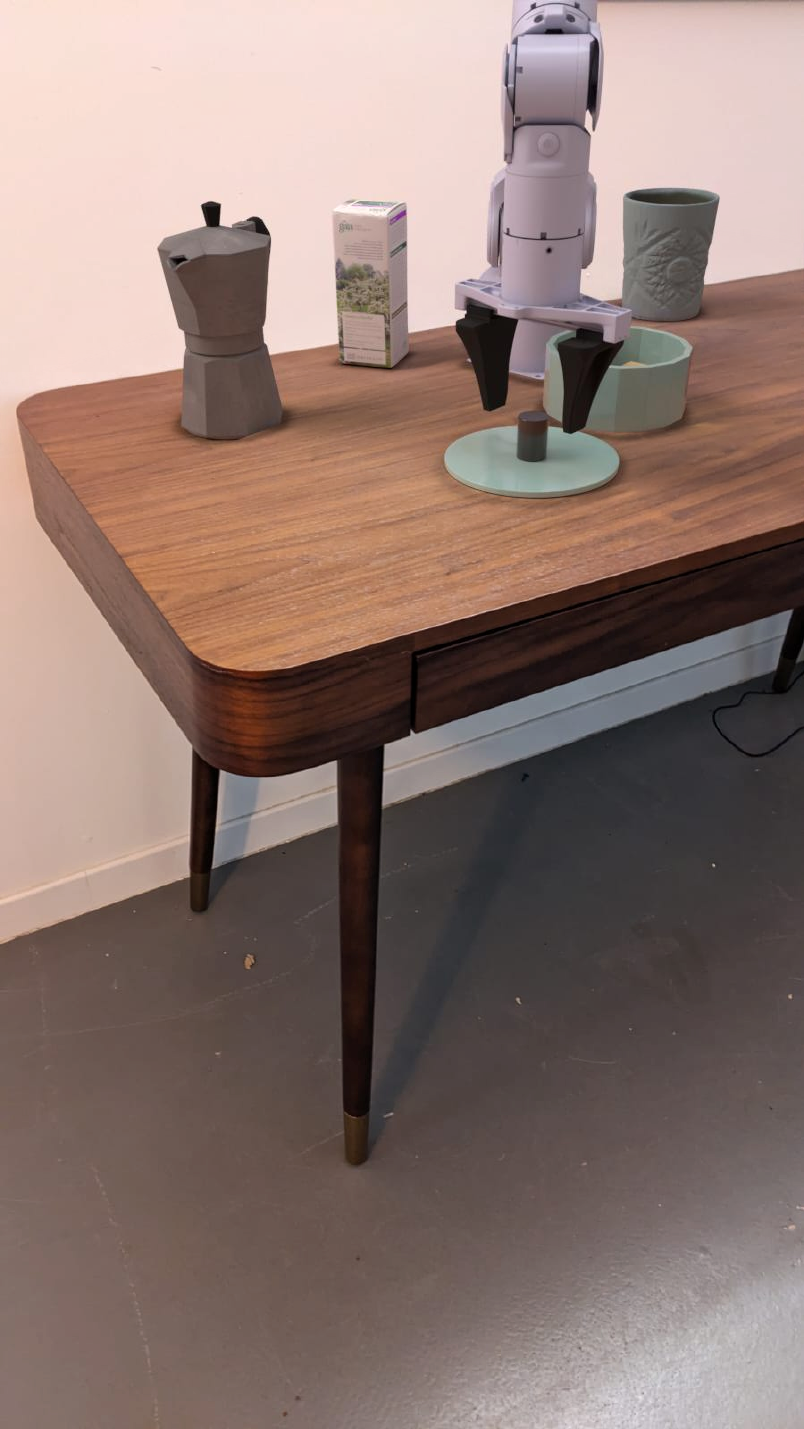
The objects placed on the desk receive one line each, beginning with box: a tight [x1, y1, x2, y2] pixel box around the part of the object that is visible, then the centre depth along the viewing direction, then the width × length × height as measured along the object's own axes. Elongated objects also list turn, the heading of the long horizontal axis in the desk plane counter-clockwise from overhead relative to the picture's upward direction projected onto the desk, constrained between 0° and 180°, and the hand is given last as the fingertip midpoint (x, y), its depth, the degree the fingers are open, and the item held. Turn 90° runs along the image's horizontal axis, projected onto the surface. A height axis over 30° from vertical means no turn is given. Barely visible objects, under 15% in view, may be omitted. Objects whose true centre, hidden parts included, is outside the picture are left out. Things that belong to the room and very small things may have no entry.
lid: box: [443, 410, 620, 499], centre depth 88 cm, size 14×14×4 cm
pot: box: [542, 325, 694, 433], centre depth 98 cm, size 12×12×6 cm
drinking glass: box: [621, 187, 721, 322], centre depth 123 cm, size 10×10×12 cm
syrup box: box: [331, 199, 410, 369], centre depth 109 cm, size 6×6×14 cm
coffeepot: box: [156, 200, 284, 440], centre depth 95 cm, size 15×9×18 cm, turn 158°
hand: (533, 418), depth 87 cm, fingers open, 7 cm apart
